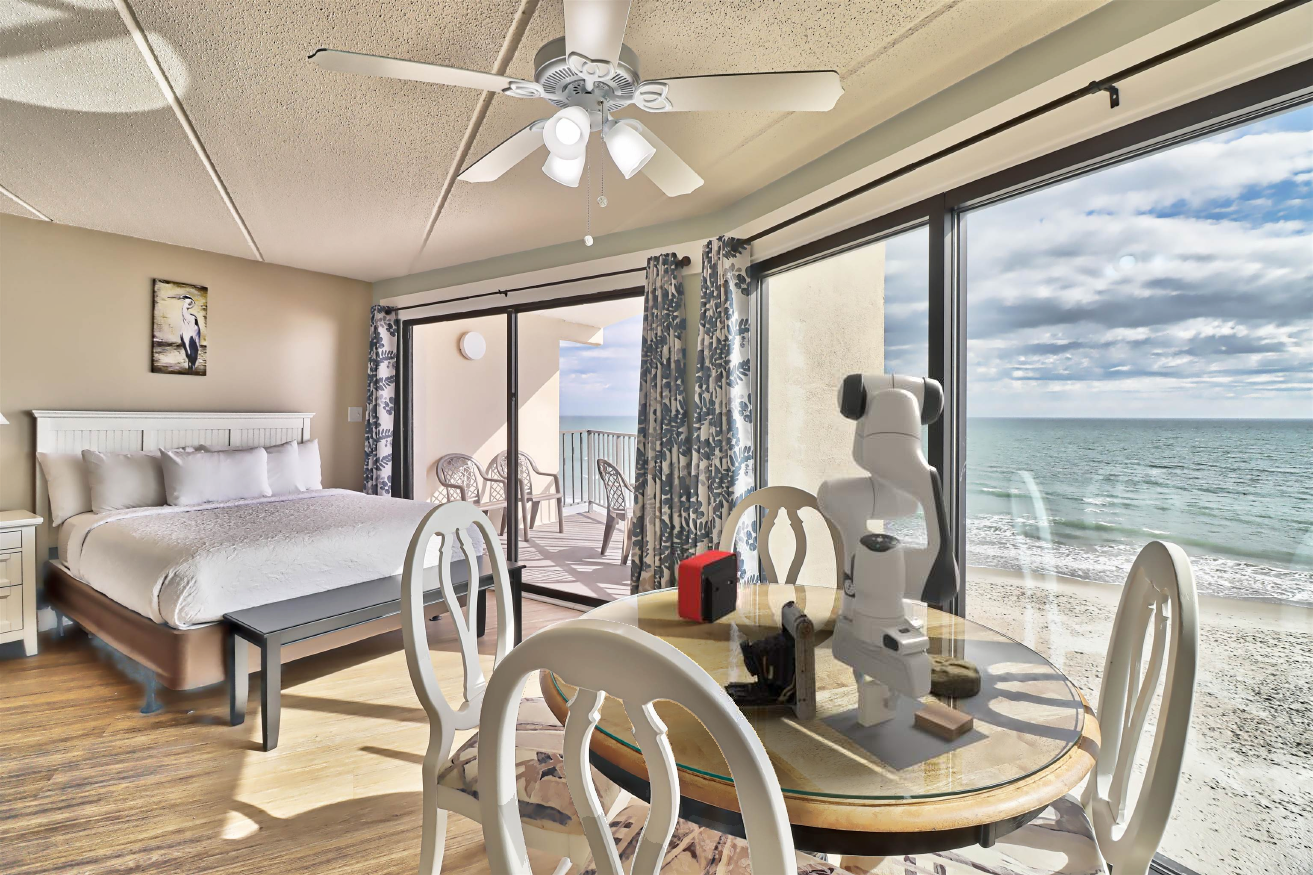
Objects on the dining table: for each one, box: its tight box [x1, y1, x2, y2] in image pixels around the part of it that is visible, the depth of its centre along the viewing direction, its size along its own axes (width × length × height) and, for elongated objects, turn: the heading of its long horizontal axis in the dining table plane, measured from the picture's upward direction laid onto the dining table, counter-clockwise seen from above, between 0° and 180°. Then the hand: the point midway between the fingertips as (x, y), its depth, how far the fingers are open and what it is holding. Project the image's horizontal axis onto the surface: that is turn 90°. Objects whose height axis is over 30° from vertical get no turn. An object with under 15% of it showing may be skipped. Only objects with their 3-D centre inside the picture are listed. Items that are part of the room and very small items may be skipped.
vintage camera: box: [723, 600, 817, 721], centre depth 116 cm, size 10×16×20 cm, turn 95°
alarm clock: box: [677, 549, 738, 624], centre depth 171 cm, size 10×20×16 cm, turn 144°
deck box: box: [857, 679, 895, 727], centre depth 113 cm, size 7×2×7 cm, turn 117°
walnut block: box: [914, 701, 975, 741], centre depth 111 cm, size 7×7×2 cm
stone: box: [927, 653, 982, 698], centre depth 128 cm, size 13×13×5 cm
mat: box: [819, 694, 990, 772], centre depth 110 cm, size 22×18×1 cm
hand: (876, 701), depth 113 cm, fingers open, 5 cm apart
